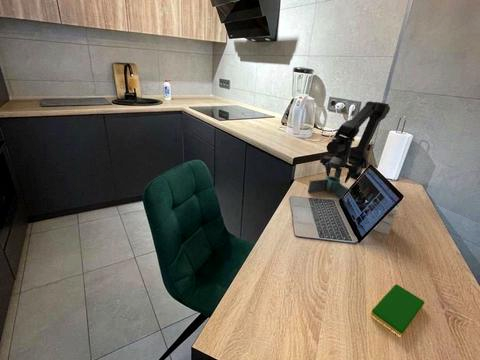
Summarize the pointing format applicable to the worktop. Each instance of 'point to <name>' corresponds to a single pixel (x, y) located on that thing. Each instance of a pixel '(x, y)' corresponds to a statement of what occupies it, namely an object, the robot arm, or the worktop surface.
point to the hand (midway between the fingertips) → (336, 180)
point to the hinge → (328, 186)
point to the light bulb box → (386, 222)
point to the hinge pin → (338, 173)
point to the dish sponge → (397, 309)
